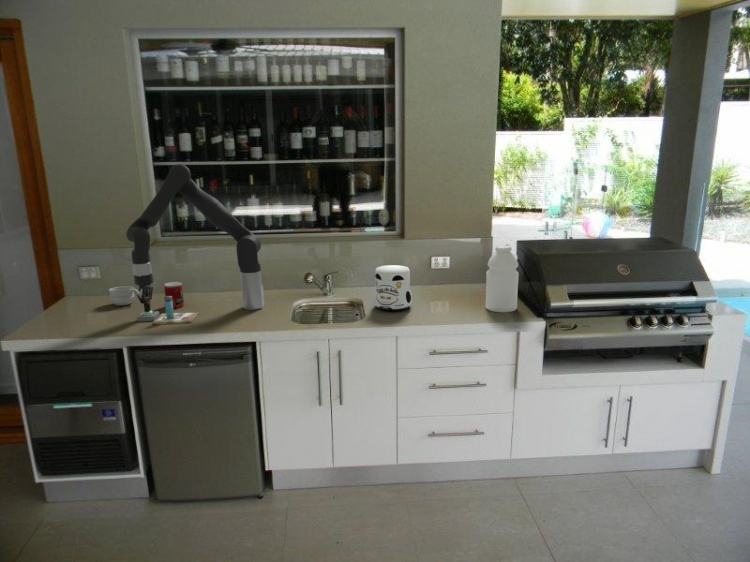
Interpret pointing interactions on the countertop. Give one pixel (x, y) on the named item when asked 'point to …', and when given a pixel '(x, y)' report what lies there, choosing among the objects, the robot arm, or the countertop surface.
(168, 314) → the marker
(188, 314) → the board
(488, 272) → the bottle
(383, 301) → the milk container
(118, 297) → the teacup
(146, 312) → the mint green capsule
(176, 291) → the canned food
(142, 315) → the button housing
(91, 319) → the countertop surface
